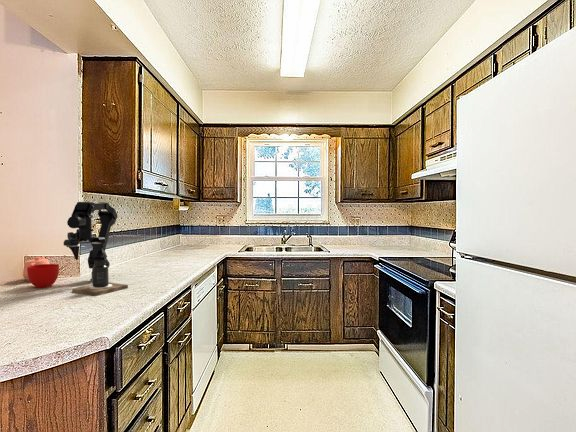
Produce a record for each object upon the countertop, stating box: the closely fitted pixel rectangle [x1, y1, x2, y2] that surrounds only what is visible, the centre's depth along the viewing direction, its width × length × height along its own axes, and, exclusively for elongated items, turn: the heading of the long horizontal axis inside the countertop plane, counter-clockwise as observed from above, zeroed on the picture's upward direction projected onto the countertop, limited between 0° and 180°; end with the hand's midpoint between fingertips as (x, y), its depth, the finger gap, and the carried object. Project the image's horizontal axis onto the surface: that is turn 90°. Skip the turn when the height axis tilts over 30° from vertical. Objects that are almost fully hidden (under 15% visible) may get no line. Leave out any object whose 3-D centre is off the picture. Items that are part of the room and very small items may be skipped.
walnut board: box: [71, 281, 129, 297], centre depth 175 cm, size 17×16×2 cm
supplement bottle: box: [91, 260, 110, 287], centre depth 175 cm, size 7×7×12 cm
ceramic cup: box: [27, 263, 60, 289], centre depth 184 cm, size 13×17×10 cm
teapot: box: [22, 255, 51, 282], centre depth 200 cm, size 20×12×12 cm, turn 17°
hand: (85, 258), depth 186 cm, fingers open, 9 cm apart
